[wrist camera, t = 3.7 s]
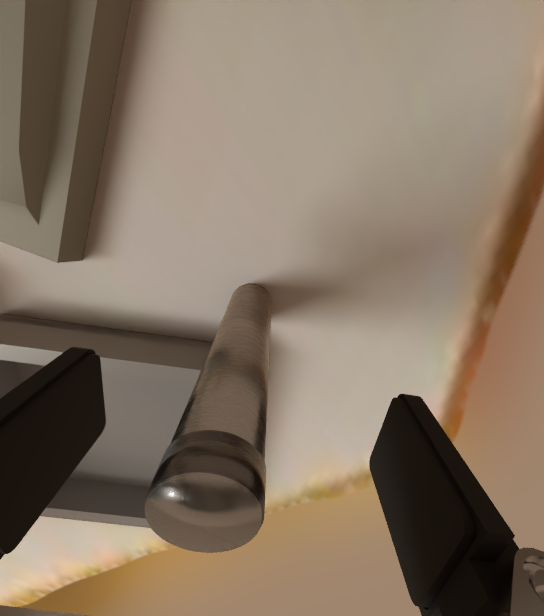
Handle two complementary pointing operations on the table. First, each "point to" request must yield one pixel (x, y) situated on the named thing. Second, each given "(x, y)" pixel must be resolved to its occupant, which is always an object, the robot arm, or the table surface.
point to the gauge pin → (220, 439)
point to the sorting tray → (111, 408)
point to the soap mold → (55, 117)
